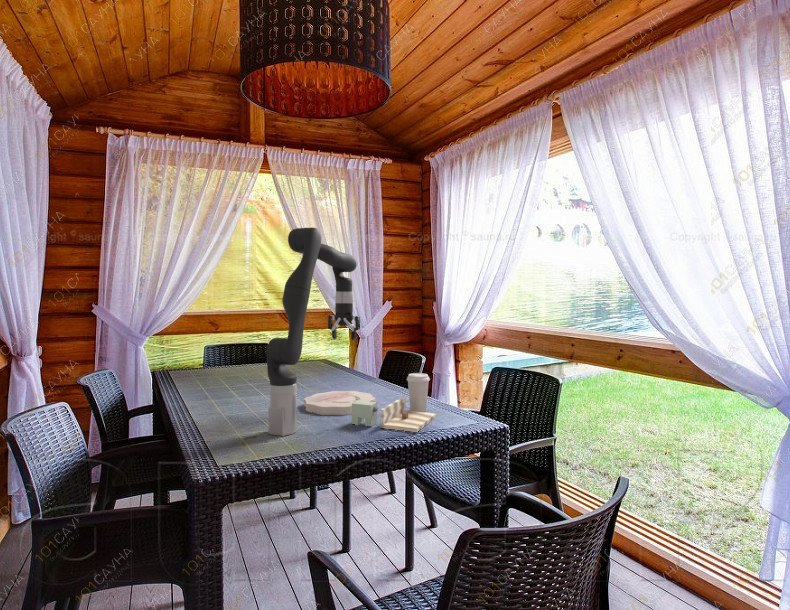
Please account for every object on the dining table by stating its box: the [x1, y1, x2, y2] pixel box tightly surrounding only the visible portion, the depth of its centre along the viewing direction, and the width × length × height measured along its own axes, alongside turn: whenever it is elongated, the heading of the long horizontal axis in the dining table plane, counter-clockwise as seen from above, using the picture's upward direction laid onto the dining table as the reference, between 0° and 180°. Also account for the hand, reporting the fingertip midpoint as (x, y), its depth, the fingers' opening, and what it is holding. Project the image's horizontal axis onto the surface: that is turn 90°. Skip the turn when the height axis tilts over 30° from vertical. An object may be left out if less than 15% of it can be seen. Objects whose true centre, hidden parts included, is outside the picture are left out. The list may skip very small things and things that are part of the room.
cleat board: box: [380, 396, 437, 433], centre depth 185 cm, size 22×14×7 cm, turn 158°
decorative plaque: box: [303, 390, 376, 416], centre depth 211 cm, size 30×4×30 cm
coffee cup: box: [406, 372, 431, 413], centre depth 203 cm, size 10×10×15 cm
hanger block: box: [351, 401, 379, 427], centre depth 183 cm, size 5×9×8 cm, turn 68°
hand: (343, 339), depth 212 cm, fingers open, 8 cm apart
